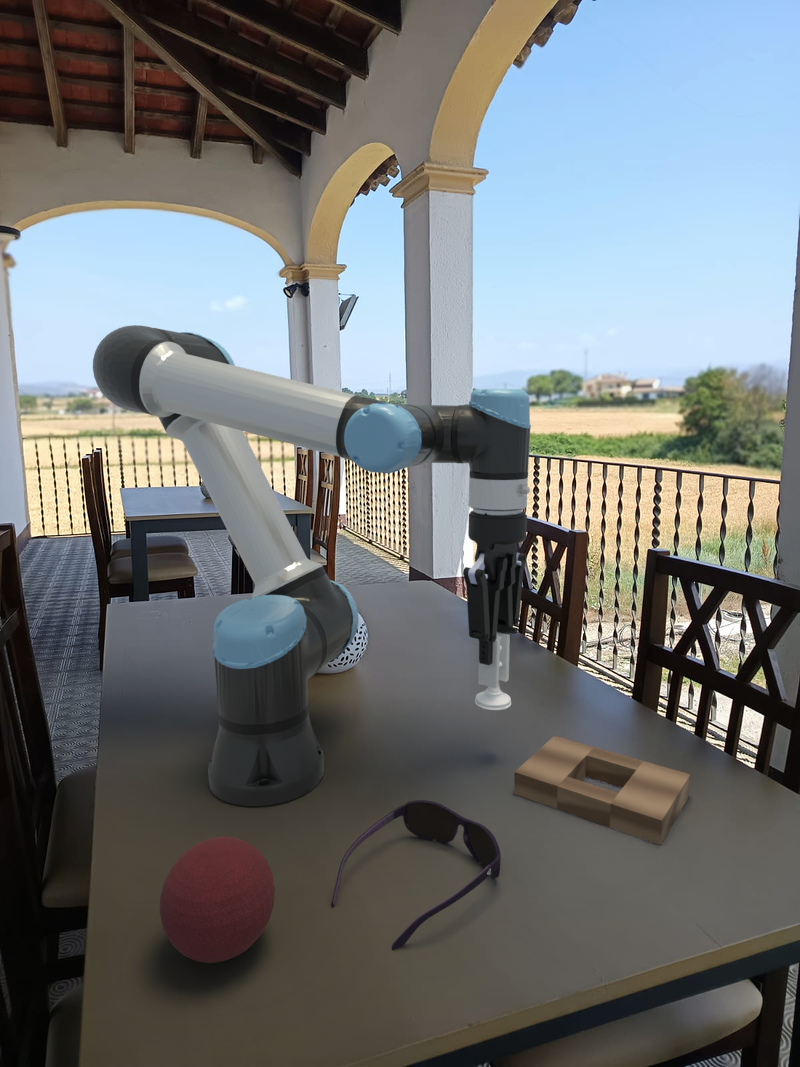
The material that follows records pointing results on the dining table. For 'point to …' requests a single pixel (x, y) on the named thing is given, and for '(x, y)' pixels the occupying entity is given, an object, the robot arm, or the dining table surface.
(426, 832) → the sunglasses
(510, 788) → the dining table surface
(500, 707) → the chess piece
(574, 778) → the socket plate
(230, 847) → the decorative ball
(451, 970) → the dining table surface
